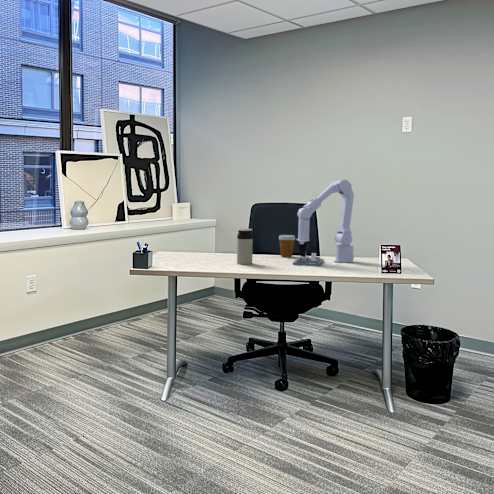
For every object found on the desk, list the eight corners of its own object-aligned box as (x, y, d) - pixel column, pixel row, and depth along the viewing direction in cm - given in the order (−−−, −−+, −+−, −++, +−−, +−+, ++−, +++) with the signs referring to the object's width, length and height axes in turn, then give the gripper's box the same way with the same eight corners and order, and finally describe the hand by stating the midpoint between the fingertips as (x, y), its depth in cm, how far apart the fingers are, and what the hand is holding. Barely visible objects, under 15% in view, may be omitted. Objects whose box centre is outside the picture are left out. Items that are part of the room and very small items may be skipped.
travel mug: (250, 265, 289) (251, 230, 286) (235, 264, 290) (235, 229, 288) (253, 262, 296) (254, 228, 294) (238, 262, 298) (239, 228, 296)
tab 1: (306, 258, 303) (306, 250, 302) (305, 259, 299) (305, 251, 298) (302, 258, 303) (302, 250, 303) (301, 259, 300) (301, 251, 299)
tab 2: (316, 260, 295) (316, 252, 295) (315, 262, 291) (315, 253, 291) (311, 260, 296) (312, 252, 295) (310, 261, 292) (311, 253, 291)
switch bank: (323, 261, 305) (323, 256, 304) (320, 266, 287) (320, 261, 287) (297, 259, 308) (298, 255, 308) (292, 264, 291) (293, 260, 290)
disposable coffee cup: (274, 256, 320) (275, 235, 319) (287, 255, 326) (287, 234, 324) (285, 258, 313) (286, 237, 311) (298, 257, 318) (298, 236, 317)
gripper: (298, 229, 304) (297, 254, 306) (294, 231, 290) (293, 257, 292) (311, 229, 303) (310, 254, 304) (307, 232, 289) (307, 258, 290)
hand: (303, 256), depth 298 cm, fingers closed
